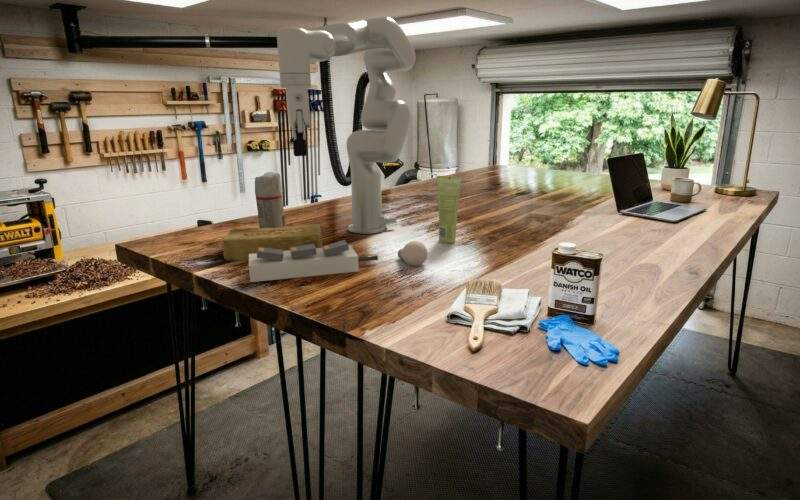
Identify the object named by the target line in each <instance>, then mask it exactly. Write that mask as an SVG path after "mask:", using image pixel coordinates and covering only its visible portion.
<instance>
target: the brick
mask: <svg viewBox="0 0 800 500" xmlns="http://www.w3.org/2000/svg"><path fill="white" fill-rule="evenodd" d="M309 244H314V245H315V247H316V248H322V246H324V245H323V234H322V230H321V225H320V224H319V223H318V224H301V225H300V224H298V225H289V226H286V227H281V228H260V227H258V228H253V227H248V228H232V229H230V230H229V232H227V234H225V236H224V237H223V240H222V248H223V249H222V250H223V251H222V252H223V258H224V260H225V261H227V262H230V261H231V262H233V261H236V262H237V261H249V254H254V253H257V247H262V248H271V249H280V250H283V251H289V250H290V247H297V246H303V245H309Z"/></svg>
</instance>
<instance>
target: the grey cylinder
mask: <svg viewBox="0 0 800 500" xmlns="http://www.w3.org/2000/svg"><path fill="white" fill-rule="evenodd" d="M281 180H282V179H281V175H280V173H279V172H274V171H268V172H266V173H264V174H262V175H260V176H255V178H254V195H255V200H256V201H255V202H256V209H257V218H258V224H259V225H258V228H281V227H287V226H286V216H285V208H284V199H283V197H284V196H283V192H282V182H281Z"/></svg>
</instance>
